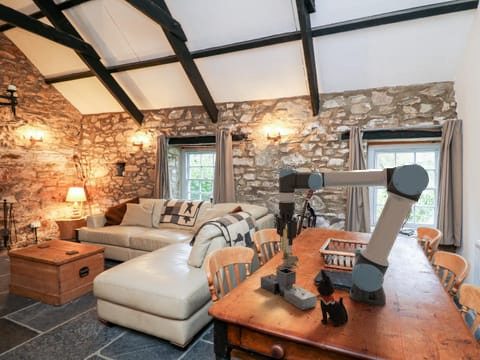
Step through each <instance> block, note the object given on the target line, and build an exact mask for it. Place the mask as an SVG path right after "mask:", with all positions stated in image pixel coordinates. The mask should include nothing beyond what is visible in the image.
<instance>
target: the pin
mask: <svg viewBox="0 0 480 360" xmlns="http://www.w3.org/2000/svg"><path fill="white" fill-rule="evenodd" d="M287 238H288V232H287V227H286V228H284V229H283V251H282V258H283V259H289V256H290V255H289V253H290V252H288V253H287V252H286V250H287Z"/></svg>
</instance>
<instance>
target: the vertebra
mask: <svg viewBox="0 0 480 360" xmlns="http://www.w3.org/2000/svg"><path fill="white" fill-rule="evenodd" d="M281 260H282V261H283V262H282V263H281V264H279V265H277V268H278V270H280V269H283V268H289V269H290V268H291V270H293V269H294V267H296V268H299V266H298V262H299V257H298V255H294V256H293V252H289V259H283V257H281ZM293 271H294V270H293Z"/></svg>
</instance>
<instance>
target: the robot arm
mask: <svg viewBox="0 0 480 360" xmlns="http://www.w3.org/2000/svg"><path fill="white" fill-rule="evenodd" d="M278 171H279V173H278V201H279V202H278V210H279V212H278V213H275V214H274V217H275V221H276V222H275V223H276V224H275V225H276V235H278V236H279V239H280V240H279V241H280V242H279V243H280V251H281V252H283V229H284V228H287V232H288V238H287V250H286V252H287V253H288V252H289V253H290V252H291V253H293V252H292V251H293V250H292V249H293V245H294V244H293V243H294V240H293V239H295V238H297V234H298V223H299V220H300V217H299V216H296V215H295V209H296V202H295V201H296V190H309V191H320V190H322V188H362V187H363V188H368V187H369V188H370V187H375V188H376V187H377V188H379V187H384V188H385V189H386V191H385V192H386V194H387V196H388V197H387V198H386V201H385V203H384V206H383V208H382V210H381V212H380V215H379V217H378V220H377V221H376V224H375V226H374V229H373V231H372V234H371V236H370V237H369V241H368V243H367V245H366V247H357V248H356V249H355V250H354V263H353V266H352V270H351V279H352V281H353V282H352V285H351V288H350V291H349V296H350V297H349V298H351V299H352V301H355V302H357V303H358V304H362V305H365V306H372V307H373V306H374V307H379V306H383V305H385V304H386V301H387V297H386V292H385V289H384V286H383V284H384V281H385V278H384V277H385V275H386V273H387V271H388V269H389V266H390V262H389V260H388V258H389V256H390V254H391V252H392V249H393V247H394V244H395V243H396V240H397V238H398V235H399V234H400V232H401V229H402V228H403V227H402V226H403V225H404V222H405V220H406V218H407V216H408V214H409V212H410V209H411V207H412V205H415V204H417V203H419V200H420V198H421V196H422V194H423V192H424V191H425V190H426V189H427V187H428V186H429V183H430V175H429V173H428V171H427V170H426V169H425V168H424V167H423V166H422V165H421V164H417V163H413V162H407V163H403V164H399V165H393V166H385V167H383V169H362V170H361V169H360V170H339V171H322V172H321V171H317V172H316V171H314V172H296V168H281V169H279V170H278Z"/></svg>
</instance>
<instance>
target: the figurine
mask: <svg viewBox="0 0 480 360" xmlns="http://www.w3.org/2000/svg"><path fill="white" fill-rule="evenodd" d="M320 273H321V278H322V279H321V280H319V284H318V286H317V288H316V291H317V292H318V295H317V294H316V302H318V301H320V303H319V305H320V311H321V315H322V319H321V320H320V322H321V323H322V325H324V326H326V325H328V320H330V321H331V322H332V323H333V324H332V327H333V328H338V327H340V325H341V326H343V325H345V324H346V323H347V322H348V320H349V315H348V311H347V309H346V307H345V305H344V298H343V296H340V297H339V301H337V300H336V299H335V297H334V295H333V294H334V293H335V285H334V282H332V280H331V277H330V276H329V275H327V273H326V272H325V270H324V269H323V268H321V271H320Z"/></svg>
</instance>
